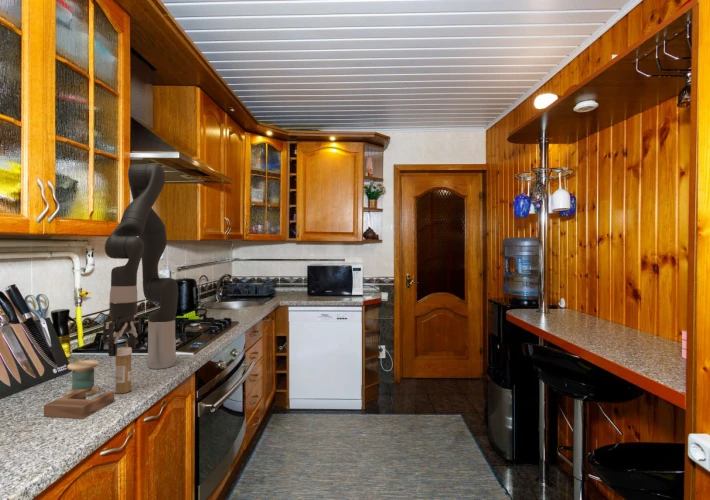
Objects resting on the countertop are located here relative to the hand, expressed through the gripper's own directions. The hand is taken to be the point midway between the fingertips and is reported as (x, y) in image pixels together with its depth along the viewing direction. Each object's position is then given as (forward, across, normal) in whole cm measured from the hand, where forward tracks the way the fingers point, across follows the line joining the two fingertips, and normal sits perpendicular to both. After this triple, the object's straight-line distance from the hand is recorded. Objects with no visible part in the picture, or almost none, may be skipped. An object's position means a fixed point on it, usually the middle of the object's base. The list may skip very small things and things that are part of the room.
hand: (122, 352), depth 126 cm
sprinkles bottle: (+12, 0, 0) cm, 12 cm away
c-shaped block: (+12, +14, -2) cm, 18 cm away
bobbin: (+12, +3, -11) cm, 16 cm away
